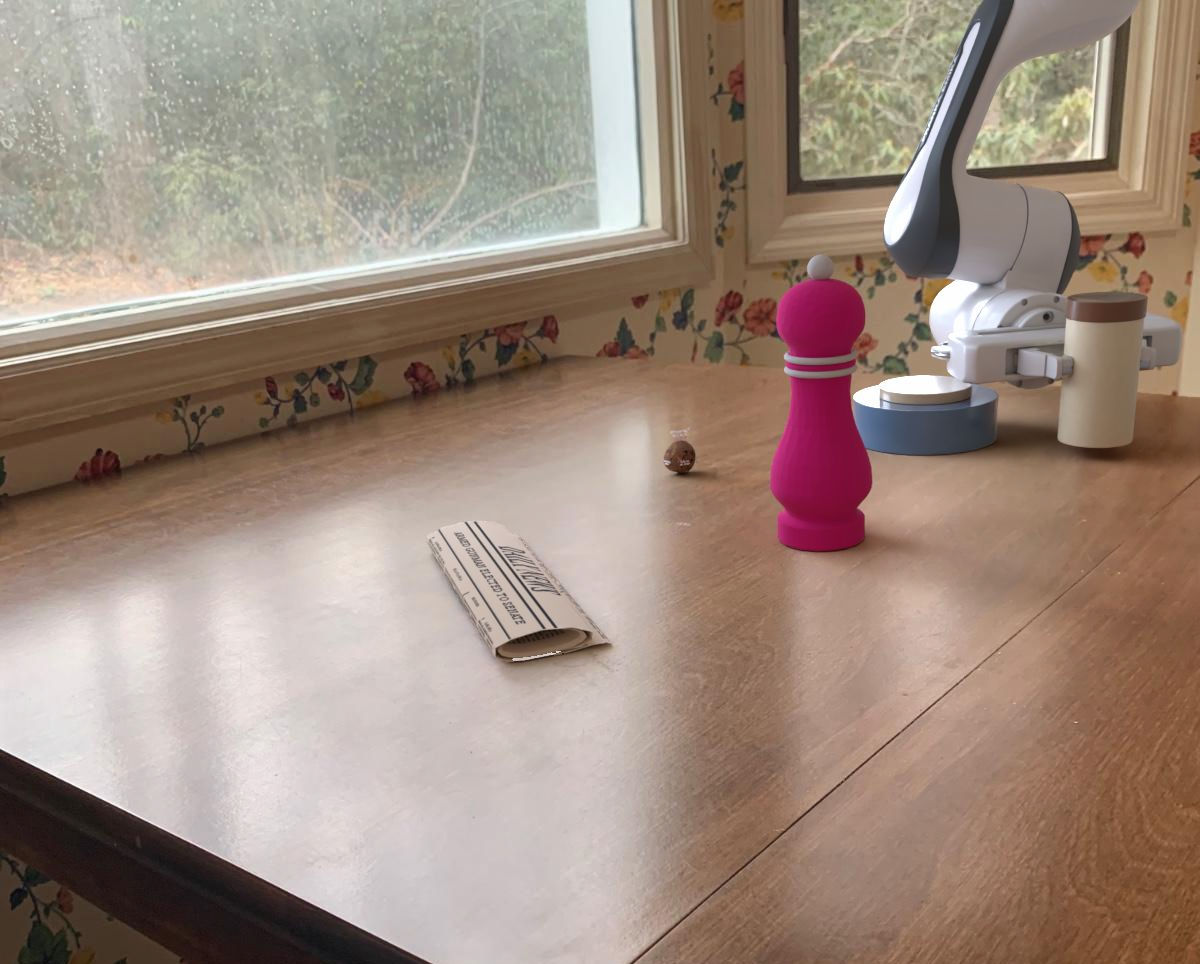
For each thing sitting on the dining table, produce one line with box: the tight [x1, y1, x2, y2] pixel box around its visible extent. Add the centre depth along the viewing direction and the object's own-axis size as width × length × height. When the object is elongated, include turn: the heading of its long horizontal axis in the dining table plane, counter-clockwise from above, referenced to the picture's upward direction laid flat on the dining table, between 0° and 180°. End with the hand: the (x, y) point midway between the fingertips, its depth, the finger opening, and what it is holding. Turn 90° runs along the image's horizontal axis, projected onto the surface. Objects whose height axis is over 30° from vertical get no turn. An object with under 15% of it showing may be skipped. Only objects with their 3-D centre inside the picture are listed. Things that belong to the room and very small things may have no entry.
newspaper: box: [425, 520, 612, 663], centre depth 82 cm, size 24×7×2 cm, turn 17°
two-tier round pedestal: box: [852, 375, 1000, 456], centre depth 112 cm, size 13×13×5 cm
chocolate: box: [662, 427, 699, 474], centre depth 106 cm, size 3×2×4 cm
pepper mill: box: [769, 254, 873, 552], centre depth 85 cm, size 7×7×20 cm
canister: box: [1056, 291, 1149, 449], centre depth 102 cm, size 6×6×12 cm
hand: (1107, 364), depth 101 cm, fingers closed on canister, 6 cm apart
